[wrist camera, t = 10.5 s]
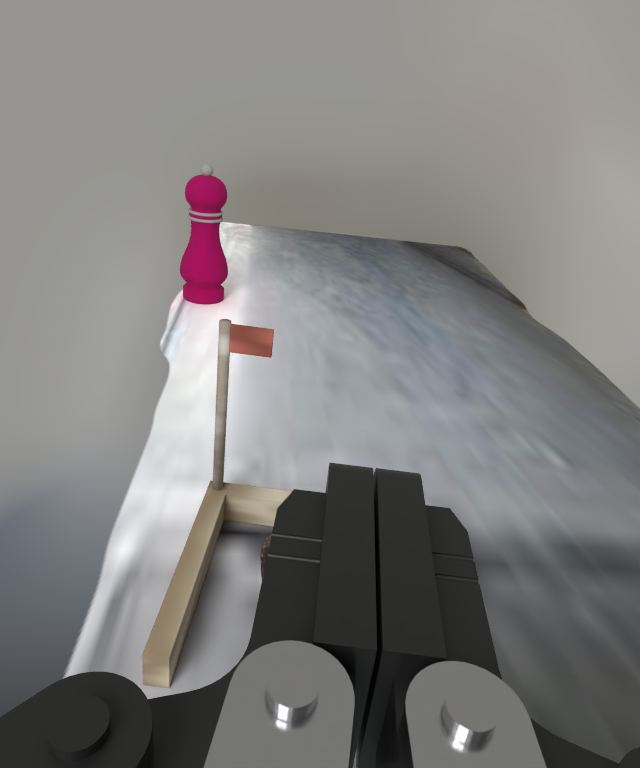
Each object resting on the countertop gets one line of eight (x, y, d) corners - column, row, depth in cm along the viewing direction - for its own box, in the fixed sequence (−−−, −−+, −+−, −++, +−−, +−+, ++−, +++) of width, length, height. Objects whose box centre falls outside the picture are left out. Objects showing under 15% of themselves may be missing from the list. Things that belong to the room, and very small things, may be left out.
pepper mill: (202, 308, 90) (205, 168, 81) (169, 295, 93) (170, 160, 84) (236, 299, 95) (243, 167, 86) (204, 287, 99) (208, 159, 90)
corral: (427, 534, 49) (473, 349, 42) (456, 726, 34) (534, 491, 27) (209, 505, 49) (216, 316, 42) (143, 684, 34) (136, 438, 27)
